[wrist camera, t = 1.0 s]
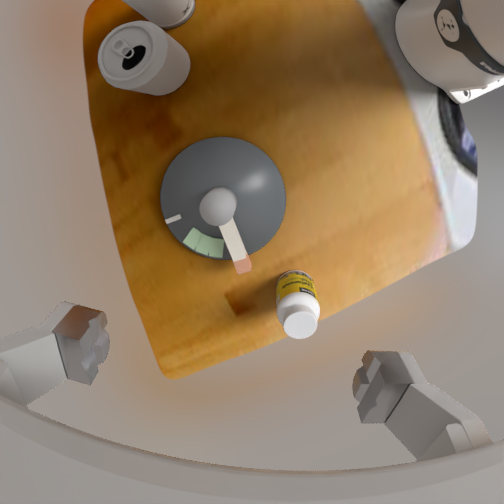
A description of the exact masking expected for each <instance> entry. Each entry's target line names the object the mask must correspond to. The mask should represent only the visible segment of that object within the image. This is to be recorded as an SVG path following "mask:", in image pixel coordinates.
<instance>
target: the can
mask: <svg viewBox="0 0 504 504" xmlns="http://www.w3.org/2000/svg"><path fill="white" fill-rule="evenodd" d="M98 65H99V69H100V70H101V74H102V76H103V77H104V79H105V80H106V81H107V82H108V83H109V84H111V85H112V86H114V87H116V88H121V89H126V90H131V91H136V92H141V93H146V94H151V95H156V96H157V95H166V94H168V93H171V92H174V91H175V90H176V89H177V88H179V87H180V86H181V85H182V84H183V83H184V81H185V80H186V79H187V76H188V74H189V71H190V58H189V55H188V53H187V51H186V50H185V49H184V48H183V46H181V45H180V44H179V43H178V42H177V41H176V40H174V39H173V38H172V37H171V36H170V35H169V34H167V33H166V32H165V31H164V30H163V29H161V28H160V27H159V26H157V25H155V24H153V23H151V22H148V21H141V20H139V21H134V22H129V23H126V24H122V25H120V26H118V27H117V28H115V29H114V30H112V31H111V32H110V33H109V34H108V35H107V36H106V38H105V39H104V40H103V42H102V43H101V46H100V49H99V52H98Z"/></svg>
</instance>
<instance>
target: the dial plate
mask: <svg viewBox="0 0 504 504" xmlns="http://www.w3.org/2000/svg"><path fill="white" fill-rule="evenodd" d="M216 186H225V187H228V188H230V189H231V190H232V191H233V192H234V193H235V195H236V197H237V207H236V209H235V212H234V215H233V219H234V222H235V224H236V227H237V229H238V232H239V234H240V237H241V239H242V242H243V245H244V247H245V250H246V252H247V253H248V255H250V254H252V253H254V252H256V251H258V250H259V249H261V248H262V247H263V246H265V245H266V244H267V243H268V242H269V241H270V240H271V239H272V237H273V236H274V235H275V234H276V232H277V230H278V229H279V227H280V225H281V222H282V220H283V217H284V213H285V207H286V193H285V187H284V183H283V180H282V177H281V174H280V172H279V170H278V168H277V167H276V165H275V163H274V162H273V161H272V160H271V158H270V157H269V156H268V155H267V154H266V153H265V152H264V151H262V150H261V149H259V148H258V147H257V146H255V145H253V144H251V143H249V142H247V141H244V140H241V139H237V138H233V137H214V138H209V139H205V140H202V141H199V142H196V143H194V144H192V145H190V146H189V147H187V148H186V149H184V150H183V151H182V152H181V153H180V154H178V155H177V156H176V158H175V159H174V160H173V161H172V163H171V164H170V166H169V167H168V169H167V171H166V173H165V175H164V178H163V182H162V186H161V195H160V200H161V208H162V213H163V216H164V219H165V221H166V224H167V225H168V227H169V229H170V231H171V232H172V233H173V235H174V236H175V237H176V238H177V239H178V241H179V242H181V243H182V244H183V245H184V246H185V247H187V248H188V249H190V250H191V251H193V252H195V253H197V254H199V255H202V256H204V257H208V258H212V259H219V260H230V259H232V257H231V255H230V252H229V250H228V247H227V245H226V243H225V240H224V238H223V235H222V233H221V231H220V228H219V226H213V225H210V224H208V223H207V222H205V221H204V219H203V218H202V216H201V214H200V209H199V208H200V203H201V201H202V199H203V198H204V197H205V195H206V194H207V193H208V192H209V191H210V190H211V189H212V188H214V187H216Z"/></svg>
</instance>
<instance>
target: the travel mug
mask: <svg viewBox="0 0 504 504" xmlns="http://www.w3.org/2000/svg"><path fill="white" fill-rule="evenodd" d="M123 1H124V2H125V3H127V4H128V5H129V6H131V7H132V8H133V9H135V10H136V11H137V12H139V13H140V14H141V15H143V16H144V17H145V18H146V19H148V20H149V21H150V22H152V23H153V24H155V25H157V26H159V27H160V28H165V29H168V28H174V27H177V26H180V25H182V24H183V23H185V22H186V21H187V20H188V19H189V18H190V17H191V16H192V14H193V12H194V9H195V0H123Z"/></svg>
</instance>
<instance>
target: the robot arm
mask: <svg viewBox="0 0 504 504" xmlns="http://www.w3.org/2000/svg"><path fill="white" fill-rule="evenodd" d="M395 30H396V36H397V40H398V43H399V46H400V48H401V50H402V52H403V54H404V56H405V57H406V59H407V60H408V62H409V63H410V65H411V66H412V67H413V68H414V69H415V70H416V71H417V72H418V73H419V74H420V75H421V76H422V77H423V78H425V79H426V80H427V81H429V82H430V83H432V84H434V85H436V86H438V87H440V88H441V89H443V90H444V91H445V92H446V93H447V95H448V96H449V97H450V98H451V99H452V100H453V101H454V102H455V103H457V104H463V103H466V102H468V101H470V100H472V99H474V98H476V97H478V96H480V95H483V94H485V93H487V92H489V91H491V90H493V89H496V88H498V87H500V86H502V85H504V0H406V1H405V2H404V3H403V4H402V5H401V7H400V8H399V10H398V12H397V15H396V20H395ZM464 92H465V95H464ZM106 324H107V317H106V314H105V313H104V312H103V311H99V310H95V309H91V308H88V307H84V306H80V305H76V304H73V303H69V302H61V303H60V305H58V306H57V308H56V309H55V310H54V311H53V312H52V313H51V314H50V315H49V316H48V317H47V318H46V319H45V320H44V321H43V322H42V323H41V325H40V326H39V327H38V328H37V327H31V328H28V329H26V330H23V331H20V332H17V333H14V334H11V335H9V336H6V337H3V338H0V504H504V440H501V441H498V442H495V443H493V442H492V440H491V438H490V436H489V434H488V432H487V430H486V428H485V427H484V425H483V423H482V421H481V419H480V418H479V417H478V416H477V415H475V414H474V413H472V412H470V411H469V410H468V409H467V408H465V407H464V406H462V405H461V404H460V403H458V402H457V401H455V400H454V399H452V398H451V397H449V396H448V395H447V394H445V393H444V392H443V391H441V390H440V389H438V388H437V387H435V386H434V385H433V384H431V383H427V382H426V380H425V378H424V376H423V374H422V373H421V371H420V369H419V367H418V365H417V363H416V361H415V360H414V358H413V356H412V354H411V353H410V352H408V351H394V352H393V351H369V350H368V351H367V352H366V353H365V354H364V356H363V358H362V362H363V366H362V367H361V368H359V369H358V370H357V371H356V374H355V376H354V379H353V395H354V398H356V400H357V401H359V402H360V404H359V405H358V407H357V409H358V413H359V416H360V420H361V423H385V425H386V426H387V427H388V428H389V430H391V432H392V433H393V434H394V435H395V436H396V437H397V438H398V439H399V440H400V441H401V443H402V444H403V445H404V446H405V447H406V448H407V449H408V450H409V451H410V452H411V453H412V454H413V455H414V456H415V457H416V459H417V460H416V462H412V463H405V464H398V465H391V466H383V467H374V468H363V469H350V470H329V471H287V470H266V469H253V468H242V467H233V466H225V465H217V464H210V463H204V462H197V461H192V460H186V459H181V458H176V457H171V456H166V455H162V454H157V453H153V452H149V451H145V450H141V449H137V448H134V447H130V446H127V445H123V444H120V443H116V442H113V441H110V440H107V439H103V438H100V437H97V436H94V435H91V434H89V433H86V432H83V431H80V430H78V429H75V428H72V427H70V426H67V425H65V424H62V423H60V422H57V421H55V420H52V419H50V418H48V417H45V416H43V415H41V414H39V413H36V412H34V411H32V410H30V409H28V407H27V404H29V403H31V402H32V401H34V400H36V399H37V398H39V397H40V396H42V395H44V394H45V393H47V392H49V391H50V390H52V389H53V388H55V387H57V386H58V385H60V384H61V383H63V382H65V381H66V380H67V378H68V379H71V380H74V381H77V382H80V383H84V384H88V385H91V384H92V382H93V380H94V378H95V377H96V375H97V373H98V367H97V365H99V364H101V363H103V362H104V361H105V359H106V357H107V355H108V351H109V343H110V340H109V334H108V333H107V331H106V330H105V329H104V328H105V326H106Z"/></svg>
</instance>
